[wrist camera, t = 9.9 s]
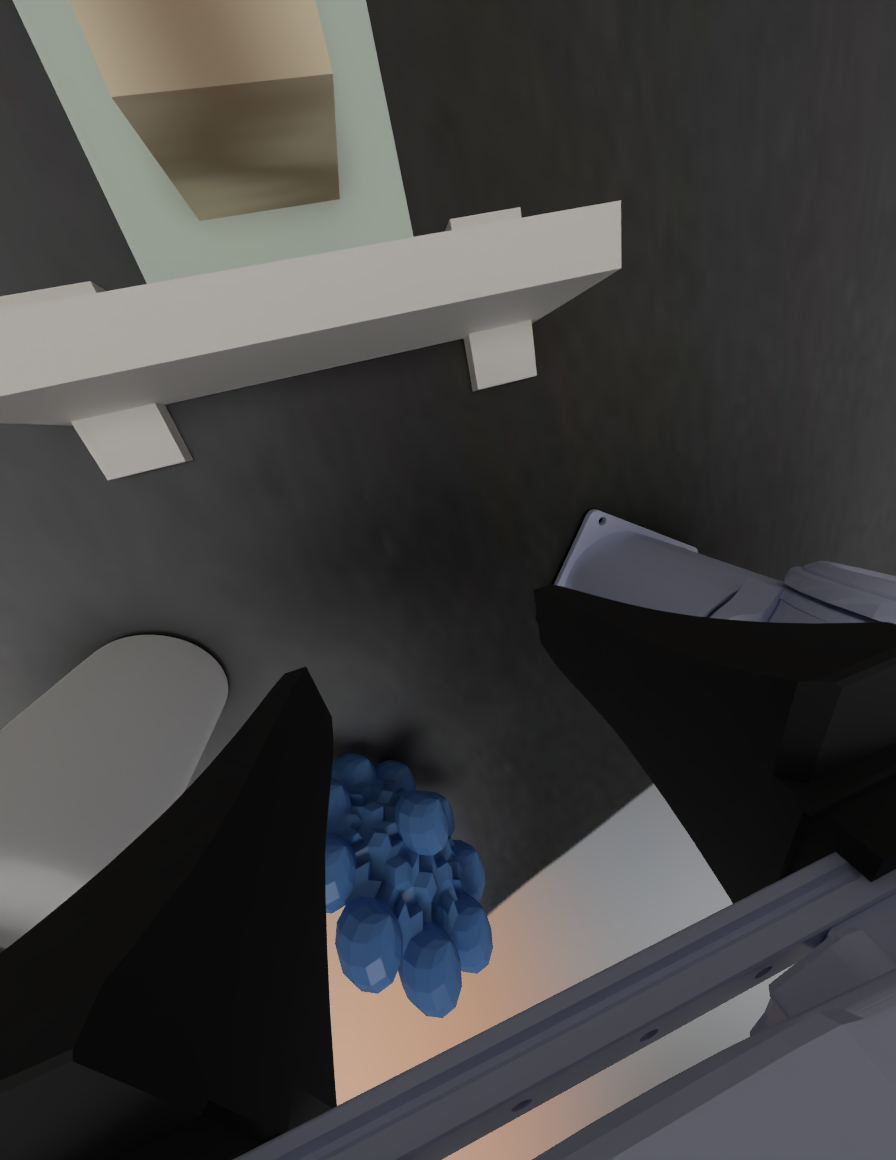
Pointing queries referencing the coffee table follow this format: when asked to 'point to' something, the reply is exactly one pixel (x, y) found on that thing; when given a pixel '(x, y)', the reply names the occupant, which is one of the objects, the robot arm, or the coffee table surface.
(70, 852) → the can
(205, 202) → the maple cube
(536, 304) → the grey screen
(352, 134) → the sage mat
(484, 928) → the grapes
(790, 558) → the coffee table surface
